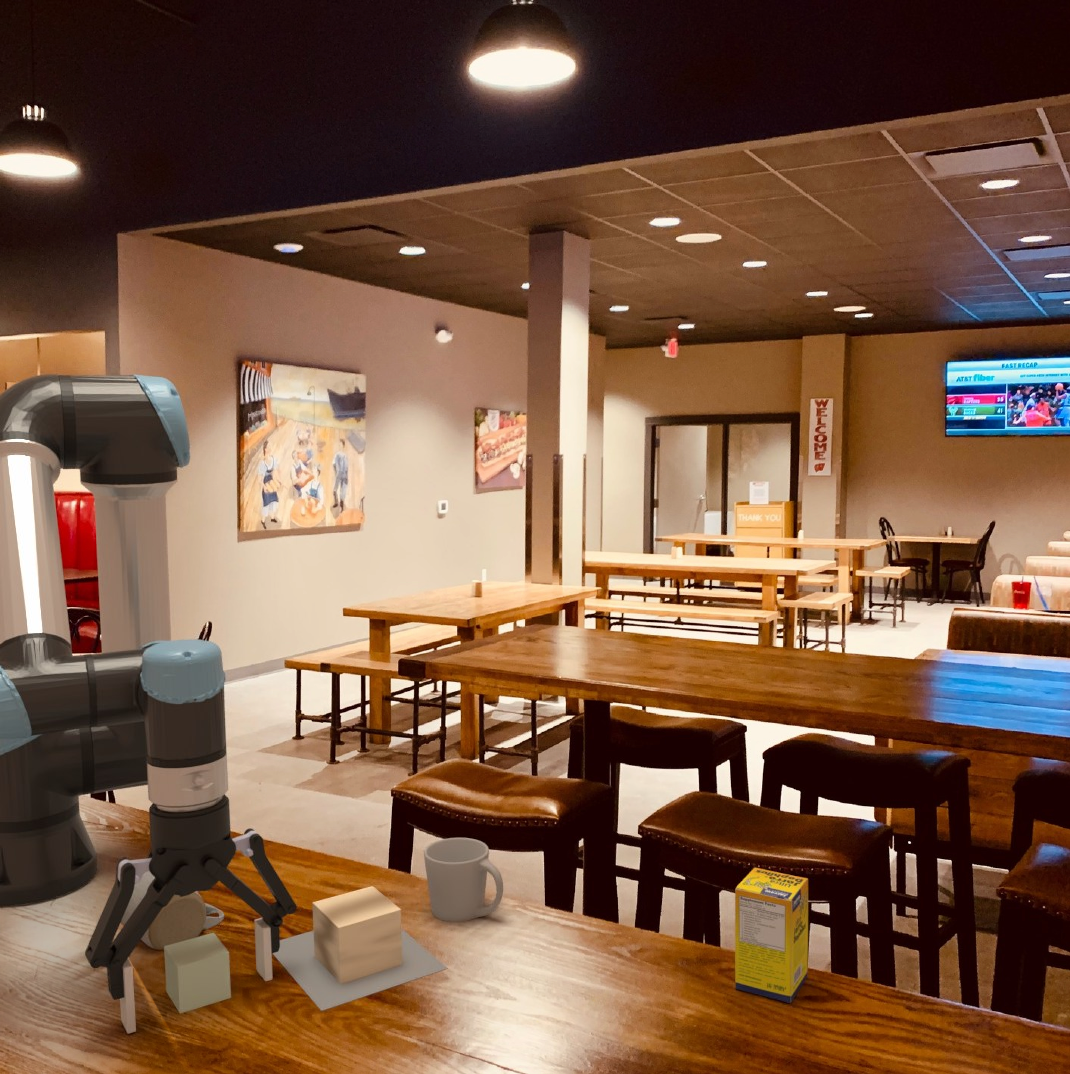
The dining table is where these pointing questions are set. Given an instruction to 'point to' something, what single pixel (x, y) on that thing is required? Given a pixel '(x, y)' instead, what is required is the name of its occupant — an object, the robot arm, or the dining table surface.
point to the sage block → (197, 972)
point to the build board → (331, 993)
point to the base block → (357, 934)
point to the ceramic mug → (173, 916)
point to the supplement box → (771, 934)
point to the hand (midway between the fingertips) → (199, 1004)
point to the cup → (460, 879)
